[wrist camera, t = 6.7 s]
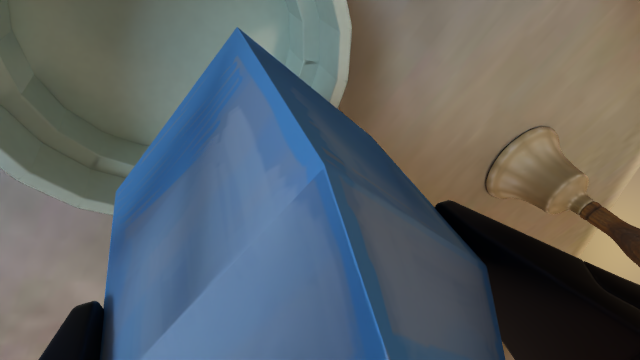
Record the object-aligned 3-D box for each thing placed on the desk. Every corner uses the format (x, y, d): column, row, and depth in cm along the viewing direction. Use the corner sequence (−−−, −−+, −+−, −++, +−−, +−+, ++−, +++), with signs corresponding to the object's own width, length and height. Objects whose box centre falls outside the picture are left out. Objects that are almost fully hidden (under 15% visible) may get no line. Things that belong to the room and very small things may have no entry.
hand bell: (566, 113, 32) (802, 232, 21) (542, 178, 38) (718, 299, 26) (492, 145, 31) (701, 290, 19) (479, 207, 36) (635, 349, 25)
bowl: (311, -159, 14) (369, -180, 10) (309, 139, 23) (340, 183, 19) (-157, -202, 10) (-335, -263, 6) (62, 185, 19) (43, 253, 15)
